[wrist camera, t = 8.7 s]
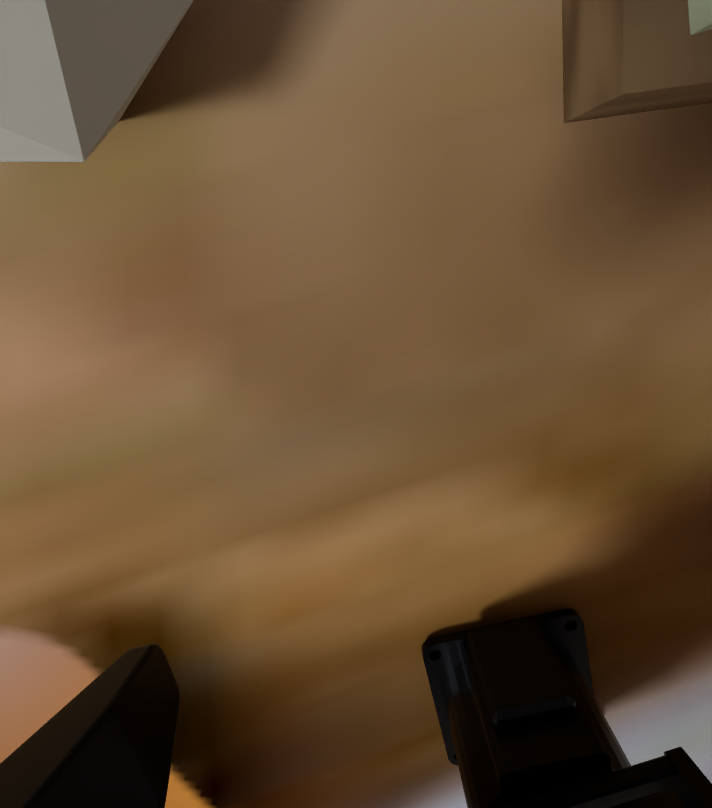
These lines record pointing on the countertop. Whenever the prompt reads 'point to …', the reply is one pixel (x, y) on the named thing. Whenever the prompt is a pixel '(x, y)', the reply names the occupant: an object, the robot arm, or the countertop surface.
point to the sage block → (700, 15)
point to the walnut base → (632, 58)
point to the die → (74, 70)
